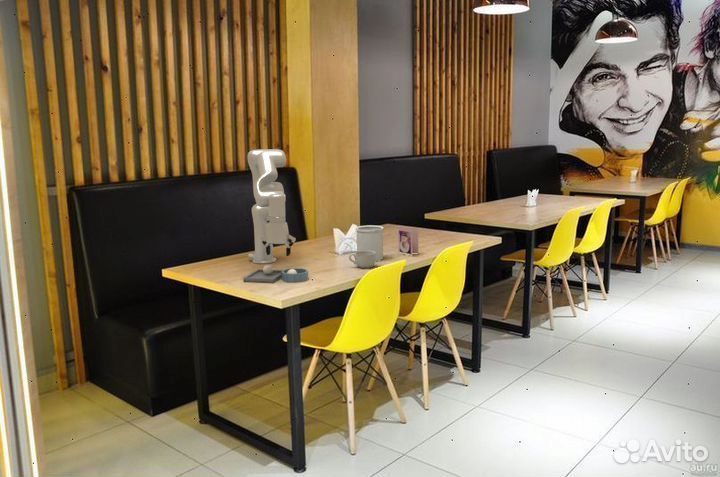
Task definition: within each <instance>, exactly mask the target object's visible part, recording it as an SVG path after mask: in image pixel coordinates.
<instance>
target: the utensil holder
mask: <svg viewBox="0 0 720 477" xmlns="http://www.w3.org/2000/svg"><path fill="white" fill-rule="evenodd" d="M355 231H356V251H359V250H371V251H375V252H376V260H375V262H379V261H378V260H380V261H382V260H383V258H384V231H385V230H384V226H381V225H372V224H371V225H370V224H369V225H368V224H367V225H360V226H357V227H355ZM381 259H382V260H381Z"/></svg>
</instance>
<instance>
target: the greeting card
mask: <svg viewBox="0 0 720 477" xmlns="http://www.w3.org/2000/svg"><path fill="white" fill-rule="evenodd" d="M397 228H398V229H397V233H398V240H397V241H398V243H397V244H398V249H397V250H398V252H401V253H406V254H410V255H412V256H413V254H412V253H418V254H419V227H397Z"/></svg>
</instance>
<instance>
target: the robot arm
mask: <svg viewBox="0 0 720 477" xmlns="http://www.w3.org/2000/svg"><path fill="white" fill-rule="evenodd" d="M247 163H248V166H249V169H250V171H251V175H252V189H253V197H254V199H255V200H254V201H255V203H256V204H253V206H252V207H251V215H252V222H253V230H254V231H253V233H254V234H253V235H254V253H248V254H247V255H248V258H252V263H253V264H257V265H258V264H262V265H263V264H264V265H265V264H266V265H268V264H272V263H276V262H277V258H276V257H274V245H285V246H286V249H285V252H286V255H285V256H286V257H289V256H290V255H291V253H292V252H291V247H292V246H293V245H294V244H295V242H296V237H294V236H292V235H291V234H290V232H289V226H288V222H286V199H287V198H286V194H285V190H284V186H283V184H282V183H281V182H278V181H276V180H277V178H278V174H279V173H278V170H277V168H284V167H286V164H287V156H286V154H285V152H284V151H283V150H282V149H278V148H272V149H269V148H268V149H266V148H265V149H263V148H262V149H261V148H259V149H253V150H250V151H249V152H247ZM268 221H269V222H268ZM289 240H291V242H290V241H289Z"/></svg>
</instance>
